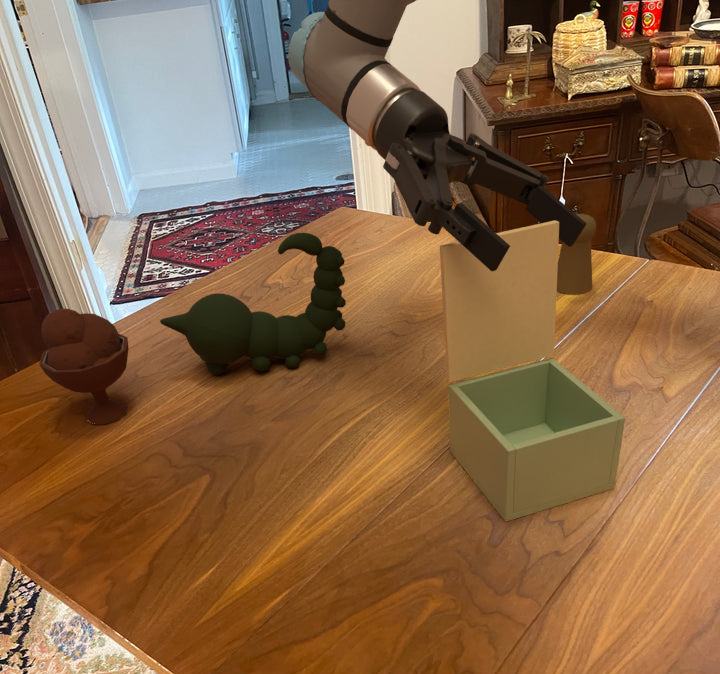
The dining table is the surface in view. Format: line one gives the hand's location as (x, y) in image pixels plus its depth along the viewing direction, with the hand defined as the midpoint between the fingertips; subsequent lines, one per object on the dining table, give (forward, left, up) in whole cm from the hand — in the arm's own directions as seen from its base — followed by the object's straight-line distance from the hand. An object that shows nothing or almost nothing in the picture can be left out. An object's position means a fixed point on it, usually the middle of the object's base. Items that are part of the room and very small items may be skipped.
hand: (542, 246), depth 71 cm
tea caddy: (0, +6, -22) cm, 23 cm away
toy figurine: (+37, -16, -23) cm, 46 cm away
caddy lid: (+4, 0, -6) cm, 7 cm away
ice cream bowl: (+55, -2, -23) cm, 60 cm away
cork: (-6, -42, -23) cm, 48 cm away
